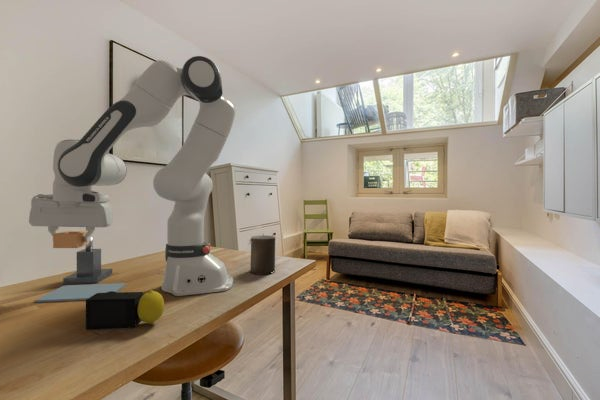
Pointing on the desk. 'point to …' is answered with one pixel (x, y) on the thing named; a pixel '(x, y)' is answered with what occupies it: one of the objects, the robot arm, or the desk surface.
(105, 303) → the black rectangular box
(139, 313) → the lemon
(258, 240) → the pillar candle
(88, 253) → the stand
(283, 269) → the desk surface
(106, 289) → the mat
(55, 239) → the collar
